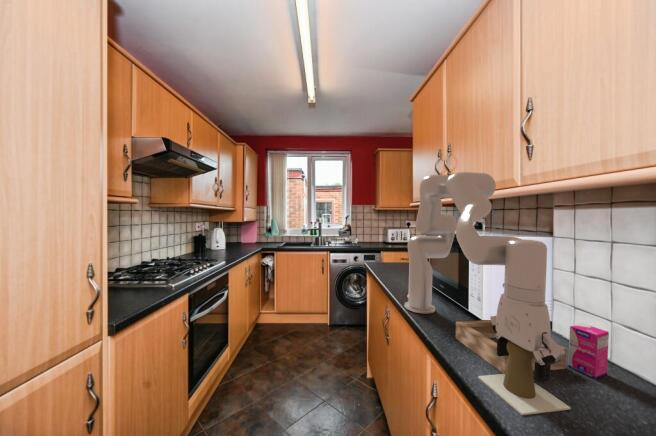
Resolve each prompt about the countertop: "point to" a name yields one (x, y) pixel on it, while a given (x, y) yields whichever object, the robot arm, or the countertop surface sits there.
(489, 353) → the box
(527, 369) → the cork
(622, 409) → the countertop surface
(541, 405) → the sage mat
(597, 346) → the supplement box
